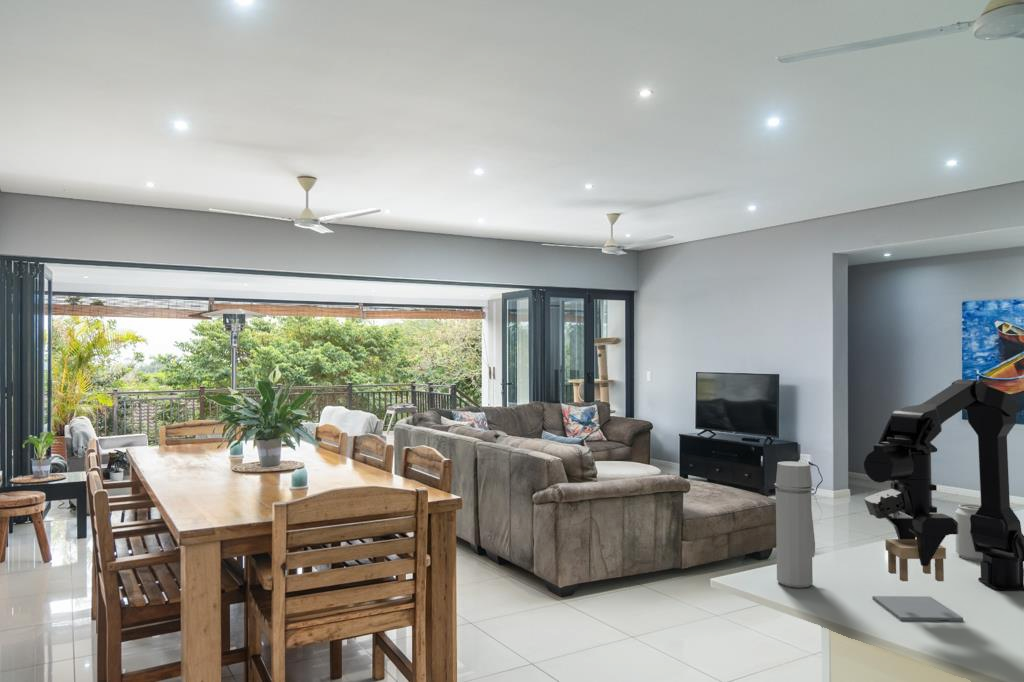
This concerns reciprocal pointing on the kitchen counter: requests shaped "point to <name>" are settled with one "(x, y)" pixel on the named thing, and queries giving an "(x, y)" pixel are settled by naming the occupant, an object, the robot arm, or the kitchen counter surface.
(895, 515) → the robot arm
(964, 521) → the can
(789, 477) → the water bottle
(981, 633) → the kitchen counter surface
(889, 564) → the stool
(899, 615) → the gray panel
